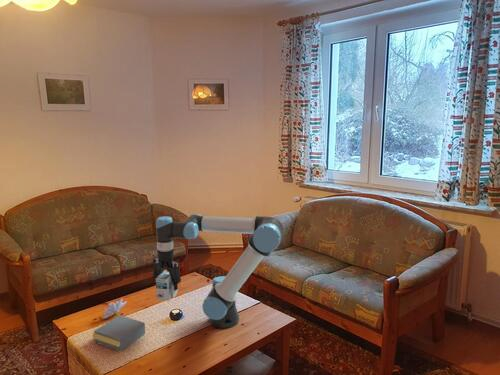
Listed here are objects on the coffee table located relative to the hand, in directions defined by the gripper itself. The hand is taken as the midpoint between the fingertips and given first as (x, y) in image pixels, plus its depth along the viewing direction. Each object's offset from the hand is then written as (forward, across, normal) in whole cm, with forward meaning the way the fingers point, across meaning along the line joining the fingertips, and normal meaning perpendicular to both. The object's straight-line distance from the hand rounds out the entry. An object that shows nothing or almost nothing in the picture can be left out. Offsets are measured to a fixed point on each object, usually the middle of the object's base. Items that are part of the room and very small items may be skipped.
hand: (167, 294), depth 184 cm
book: (+19, -16, -16) cm, 30 cm away
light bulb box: (+1, 0, 0) cm, 1 cm away
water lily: (+19, -34, -2) cm, 39 cm away
